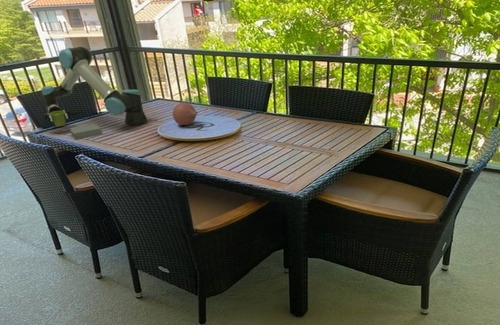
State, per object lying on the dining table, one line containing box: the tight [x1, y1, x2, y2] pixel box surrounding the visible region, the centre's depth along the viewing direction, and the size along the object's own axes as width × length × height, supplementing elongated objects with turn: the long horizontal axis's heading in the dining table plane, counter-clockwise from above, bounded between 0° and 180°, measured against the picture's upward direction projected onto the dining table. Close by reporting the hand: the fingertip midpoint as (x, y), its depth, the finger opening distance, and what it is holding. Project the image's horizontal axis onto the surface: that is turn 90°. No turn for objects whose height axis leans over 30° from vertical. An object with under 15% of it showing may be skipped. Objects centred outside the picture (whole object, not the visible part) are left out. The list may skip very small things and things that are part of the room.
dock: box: [69, 122, 102, 141], centre depth 228 cm, size 16×14×4 cm
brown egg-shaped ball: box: [172, 102, 198, 126], centre depth 233 cm, size 15×20×15 cm
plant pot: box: [49, 110, 67, 128], centre depth 232 cm, size 9×9×9 cm
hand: (59, 118), depth 227 cm, fingers closed on plant pot, 8 cm apart
